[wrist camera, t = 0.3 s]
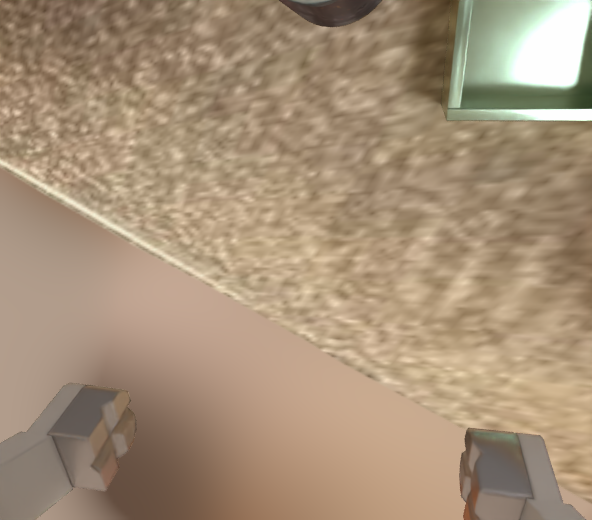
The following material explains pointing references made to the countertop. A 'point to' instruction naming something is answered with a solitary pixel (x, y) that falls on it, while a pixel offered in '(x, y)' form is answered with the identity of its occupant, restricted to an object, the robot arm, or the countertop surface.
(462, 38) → the green shallow open box
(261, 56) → the countertop surface
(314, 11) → the sauce bottle
